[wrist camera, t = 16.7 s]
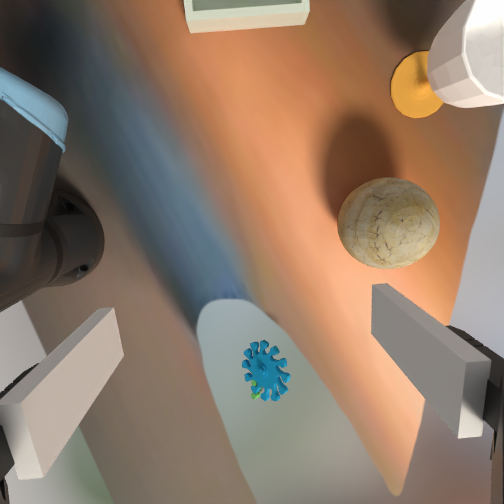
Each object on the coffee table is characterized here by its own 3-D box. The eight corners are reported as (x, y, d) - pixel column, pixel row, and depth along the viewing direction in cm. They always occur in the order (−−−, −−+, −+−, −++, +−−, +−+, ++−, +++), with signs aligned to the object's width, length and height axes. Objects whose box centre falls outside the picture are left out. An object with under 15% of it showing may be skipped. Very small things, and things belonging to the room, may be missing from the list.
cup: (464, 113, 46) (588, 78, 30) (389, 138, 47) (470, 116, 30) (453, 29, 43) (583, -62, 27) (373, 56, 44) (453, -18, 27)
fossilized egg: (310, 220, 49) (339, 239, 35) (367, 160, 47) (422, 152, 33) (363, 269, 52) (411, 306, 37) (419, 213, 50) (493, 229, 35)
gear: (252, 329, 52) (294, 372, 46) (273, 323, 56) (314, 361, 51) (230, 376, 56) (267, 420, 50) (252, 366, 60) (288, 406, 54)
